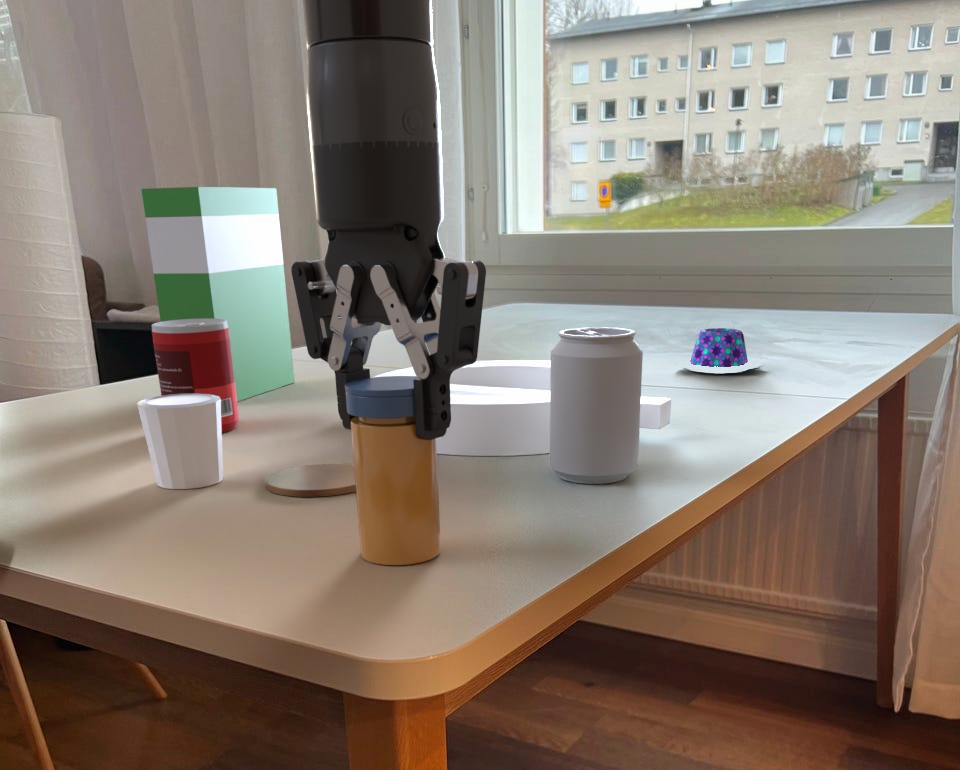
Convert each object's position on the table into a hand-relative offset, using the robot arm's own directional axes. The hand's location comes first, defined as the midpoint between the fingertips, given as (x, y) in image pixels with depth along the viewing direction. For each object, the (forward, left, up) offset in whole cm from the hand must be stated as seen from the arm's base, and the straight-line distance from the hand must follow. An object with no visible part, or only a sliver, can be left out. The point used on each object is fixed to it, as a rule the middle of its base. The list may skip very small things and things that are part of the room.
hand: (393, 431), depth 64 cm
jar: (0, 0, -8) cm, 8 cm away
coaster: (-4, +20, -8) cm, 22 cm away
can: (+19, +16, -8) cm, 26 cm away
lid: (0, 0, +3) cm, 3 cm away
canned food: (-15, +47, -8) cm, 50 cm away
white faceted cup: (-15, +24, -8) cm, 30 cm away
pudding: (+53, +67, -8) cm, 86 cm away
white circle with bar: (+16, +39, -8) cm, 43 cm away
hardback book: (-12, +70, -8) cm, 72 cm away
